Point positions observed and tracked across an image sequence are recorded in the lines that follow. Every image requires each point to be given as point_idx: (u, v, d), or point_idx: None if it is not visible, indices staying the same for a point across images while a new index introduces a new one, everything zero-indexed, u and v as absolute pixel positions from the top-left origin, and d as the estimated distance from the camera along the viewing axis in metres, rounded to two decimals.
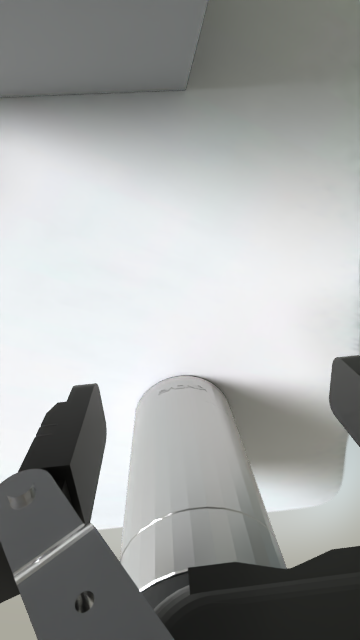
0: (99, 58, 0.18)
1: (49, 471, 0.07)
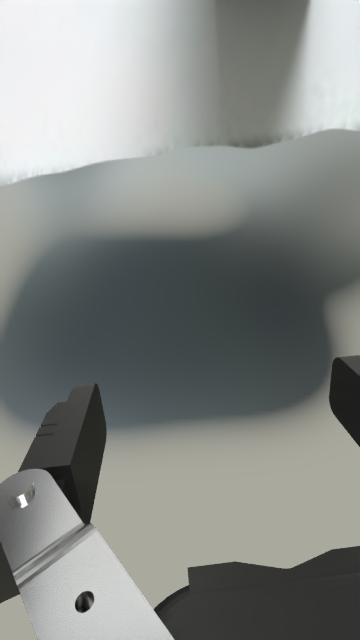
0: None
1: (49, 471, 0.07)
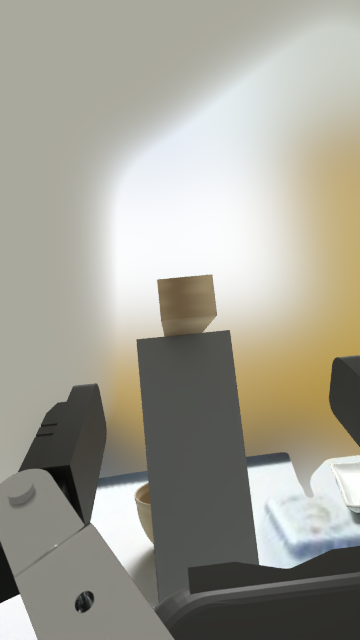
0: None
1: (49, 471, 0.07)
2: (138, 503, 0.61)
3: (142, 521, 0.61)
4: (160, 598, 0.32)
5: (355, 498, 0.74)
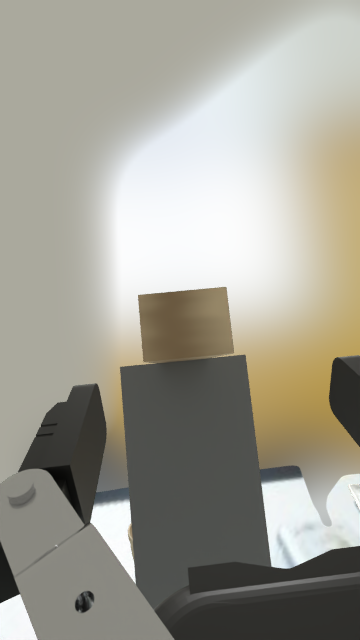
0: None
1: (49, 471, 0.07)
2: (131, 542, 0.52)
3: None
4: None
5: None
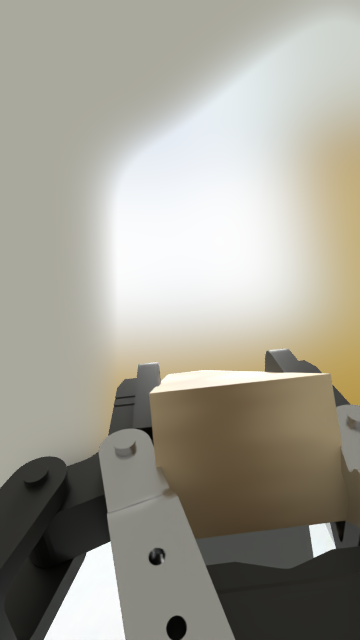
0: None
1: None
2: None
3: None
4: None
5: None
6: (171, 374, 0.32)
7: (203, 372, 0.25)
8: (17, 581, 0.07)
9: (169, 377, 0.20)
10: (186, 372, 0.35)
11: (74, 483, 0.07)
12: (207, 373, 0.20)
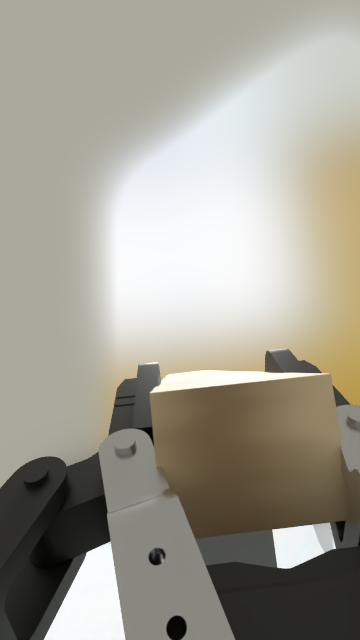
0: None
1: None
2: None
3: None
4: None
5: None
6: (171, 374, 0.32)
7: (203, 372, 0.25)
8: (17, 581, 0.07)
9: (169, 377, 0.20)
10: (186, 372, 0.35)
11: (74, 483, 0.07)
12: (207, 373, 0.20)
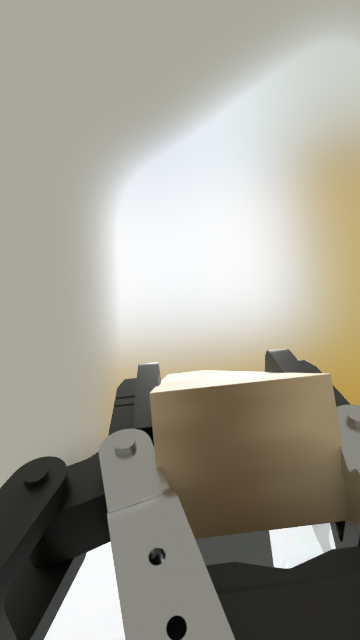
0: None
1: None
2: None
3: None
4: None
5: None
6: (171, 374, 0.32)
7: (203, 372, 0.25)
8: (17, 580, 0.07)
9: (169, 377, 0.20)
10: (186, 372, 0.35)
11: (74, 483, 0.07)
12: (207, 373, 0.20)
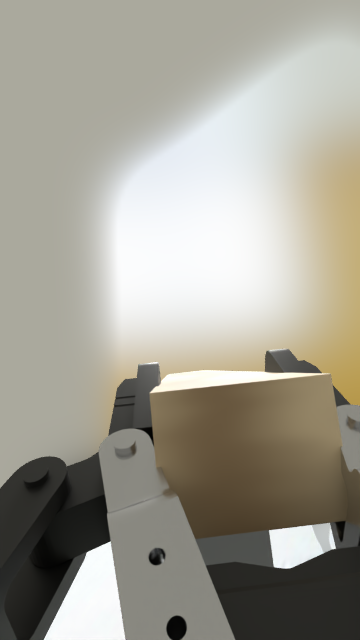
0: None
1: None
2: None
3: None
4: None
5: None
6: (171, 374, 0.32)
7: (203, 372, 0.25)
8: (17, 580, 0.07)
9: (169, 377, 0.20)
10: (186, 372, 0.35)
11: (74, 483, 0.07)
12: (207, 373, 0.20)
